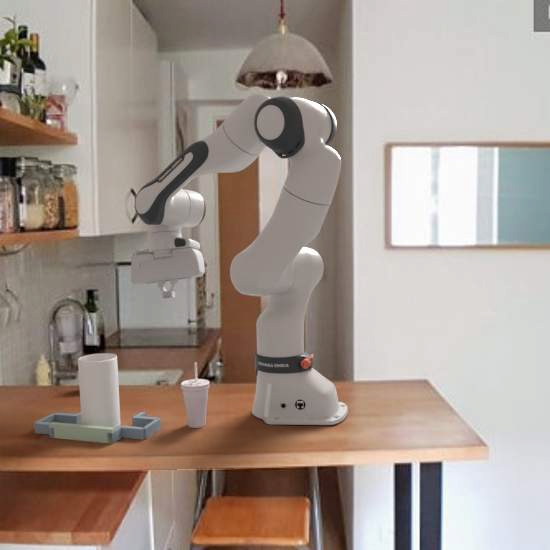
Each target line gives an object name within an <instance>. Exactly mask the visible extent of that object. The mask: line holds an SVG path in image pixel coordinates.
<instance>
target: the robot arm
mask: <svg viewBox="0 0 550 550" xmlns="http://www.w3.org/2000/svg"><path fill="white" fill-rule="evenodd" d="M337 125H338V123H337V119H336V116H335V114H334V112H333V111H332V110H331V109H330V108H329V107H327V106H326V105H324V104H323V103H320V102H318V101H311V100H308V99H306V98H302V97H293V96H291V97H289V96H283V95H282V96H281V95H280V96H274V97H270V96H268V95H266V94H264V93H260V92H259V93H253V94H251V95H249V96H248V97H247V98H245V99H244V100H243V101H242V102H240V103H239V104H238V105H237V106H236V107H235V108H234V109H233V110H232V111H231V112H230V113H229V114H228V116H227V117H226V118H225V119H224V120H223V122H222V123H221V124H220V126H218V127H217V128H216V129H215V130H213V132H211V133H210V134H208V135H207V136H206V137H204V138H203V139H200V140H198V141H196V142H193V143H192V144H190V145H189V146H188V147H187V148H185V149H184V150H183V151H182V152H181V153H180V154H178V156H177V157H175V159H174V160H173V161H172V162H171V163H170V164H169V165H168V166H167V167H165V168H164V170H162V171H161V172H160V174H158V175H157V176H156V177H155V178H154V179H152V180H151V181H149V182H146V183H145V184H144V185H143V186H142V187H141V188H140V189H139V191H138V192H137V193H136V195H135V198H134V209H135V213H136V214H137V216H138V218H140V220H141V222H142V223H143V224H145V225H148V232H147V242H148V243H147V245H148V246H147V247H148V248H145V249H138V250H136V251H135V252H133V254H132V255H131V256H130V261H131V262H130V264H131V266H130V267H131V268H130V282H131V283H132V284H133V285H136V286H142V285H143V286H145V285H148V284H149V285H150V284H157V287H158V289H159V290H160V292H161V297H162V299H163V300H164V299H173V298H174V299H175V298H176V291H177V288H178V285H179V280H187V279H194V278H201V277H203V276H204V274H205V273H206V266H205V259H204V257H203V253H202V252H201V251H200V248H201V244H200V242H198V241H197V240H194V239H191V238H187V237H184V236H183V234H182V229H184V228H195V227H198V226H199V225H200V224H201V223H203V221H204V219H205V217H206V212H207V205H206V201H205V199H204V197H203V196H202V194H201V193H200V192H198V191H195V190H190V189H184V187H185V186H187V184H189V182H191V181H192V180H193V179H195V178H197V177H200V176H201V177H202V176H205V175H210V174H221V173H224V174H225V173H227V174H228V173H229V174H231V173H238V172H240V171H243V170H245V169H246V168H248V167H249V166H251V164H253V162H255V161H256V160H257V158H258V157H259V156H260V155H261V154H262V152H263V151H264V150H265V149H266V148H267V147H268V148H269V149H270V150H272V152H274V153H275V155H276V156H278V158H280V159H288V161H289V168H288V173H287V175H286V178H285V181H284V184H283V186H282V189H281V191H280V194H279V196H278V197H279V198H278V200H277V202H276V204H275V207H274V210H273V212H272V214H271V217H270V218H269V220H268V222H267V223H266V225H265V226H264V227H263V229H262V230H261V232H260V233H259V234H258V235H257V236H256V238H255V239H254V240H253V242H252V243H250V244H249V245H248V246H247V247H246V248H245V249H244V250H242V251H240V252H239V253H237V254H236V255H235V256H234V258H233V259H232V261H231V264H230V268H229V277H230V280H231V283H232V285H233V287H234V288H235V290H236V291H238V292H239V293H240V294H242V295H245V296H251V297H267V296H269V299H268V302H267V305H266V307H265V309H264V310H263V311H262V312H261V313H260V314H259V316H258V317H257V320H256V322H255V323H256V325H255V327H256V331H255V332H256V352H255V358H254V370H255V376H256V386H255V387H256V388H255V396H254V400H253V405H252V409H251V413H252V415H253V416H254V417H256V418H258V419H261V420H263V422H264V423H265V424H267V425H290V426H291V425H294V426H295V425H297V426H298V425H301V426H302V425H303V426H304V425H305V426H306V425H307V426H308V425H309V426H331V425H332V426H333V425H336V424H339V423H341V422H343V421H344V420H346V418H347V416H348V413H349V410H348V409H349V408H348V406H347V404H346V403H344V402H342V401H339V397H338V392H337V389H336V386H335V384H334V383H333V382H332V381H331V380H329V379H328V378H326V377H325V376H323V375H322V374H321V373H320V372H318V370H316V369H315V368H313V367H314V362H313V361H314V354H313V353H312V354H309V353H308V352H306V351H305V317H306V312H307V308H308V305H309V301H310V298H311V295H312V293H313V291H314V289H315V287H316V286H317V285H318V284H319V282H320V281H321V280H322V278H323V275H324V270H325V269H324V261H323V258H322V256H321V255H320V254H319V252H318V251H316V250H315V249H314V248H311V247H307V244H309V243H311V241H313V240H314V239H315V238H316V237H317V236H318V235H319V233H320V231H321V229H322V226H323V224H324V222H325V219H326V217H327V214H328V212H329V209H330V206H331V204H332V201H333V199H334V196H335V192H336V189H337V186H338V182H339V178H340V174H341V168H342V160H341V156H340V155H339V153H338V152H337V151H336V150H335V149H334V148H333V147H331V146H330V145H329V144H331V143H332V141H333V140H334V138H335V137H336V134H337V130H338V129H337V127H338V126H337ZM166 282H169V283H170V284H171V285H170V288H169V290H167V289H166V286H167V283H166Z"/></svg>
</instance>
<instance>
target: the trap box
mask: <svg viewBox="0 0 550 550" xmlns="http://www.w3.org/2000/svg"><path fill="white" fill-rule="evenodd" d="M131 421H132V425H119V426H118V427H116V428H114V427H103V426H92V425H82V423H81V410H80V411H79V412H76V413H67V412H55V413H51V414H49V415H46V416H44V417H43V418H40V419H38V420H37V421H34V433H35V434H39V435H48V436H49V439H51V438H52V439H59V440H60V439H61V440H68V441H69V440H71V441H80V442H91V443H100V444H110V445H113V444H115V443H116V442H118V441H120V440H121V439H130V438H131V439H134V440H140V441H141V440H147V439H149V438H150V437H152V436H153V435H154V434H156V433H157V432H159V431H160V430H161V429H162V419H161V417H156V416H153V417H152V416H147V412H146V411H141V412H139V413H137V414H136V415H134V416H133V417H132V418H131ZM122 437H123V438H122Z"/></svg>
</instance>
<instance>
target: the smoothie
mask: <svg viewBox="0 0 550 550" xmlns="http://www.w3.org/2000/svg"><path fill="white" fill-rule="evenodd" d="M210 385H211V384H210V380H208V379H205V378H198V362H196V361H195V362H194V378H192V379H186V380H184V381H182V382H181V383H180V389H181V390H182V396H183V401H184V405H185V406H184V407H185V411H186V412H185V414H186V419H187V424H188V425H187V426H188V427H189V428H193V429H199V428H202V427H205V426H206V422H207V421H206V418H207V408H208V398H209V396H208V395H209V388H210V387H211V386H210Z"/></svg>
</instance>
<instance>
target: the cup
mask: <svg viewBox="0 0 550 550" xmlns="http://www.w3.org/2000/svg"><path fill="white" fill-rule="evenodd" d="M77 364H78V366H77V367H78V368H77V369H78V384H79V385H78V386H79V402H80V411H81V425H92V426H103V427H114V428H116V427H118V426H119V425H121V407H120V389H119V367H118V356H117V354H115V353H110V352H109V353H108V352H105V353H93V354H92V353H91V354H86V355H82V356H80V357H78V358H77Z"/></svg>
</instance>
